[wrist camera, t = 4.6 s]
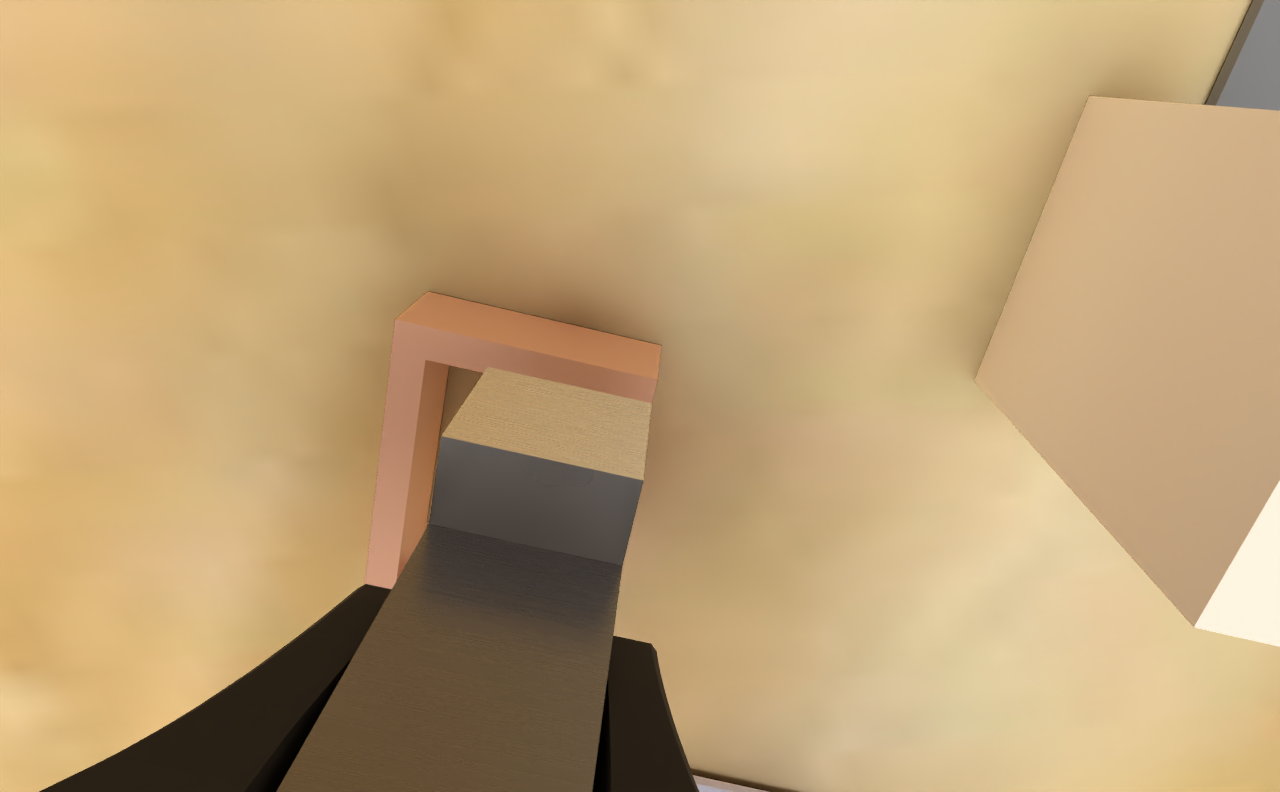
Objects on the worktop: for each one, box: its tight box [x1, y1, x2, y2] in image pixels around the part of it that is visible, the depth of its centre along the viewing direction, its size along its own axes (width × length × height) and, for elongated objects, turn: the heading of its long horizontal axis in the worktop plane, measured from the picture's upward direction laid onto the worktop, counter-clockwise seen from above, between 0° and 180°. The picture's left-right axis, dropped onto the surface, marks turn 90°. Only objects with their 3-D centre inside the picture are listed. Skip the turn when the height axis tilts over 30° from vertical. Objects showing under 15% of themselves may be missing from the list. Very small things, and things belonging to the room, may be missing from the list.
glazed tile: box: [974, 96, 1280, 647], centre depth 15 cm, size 7×2×10 cm, turn 168°
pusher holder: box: [365, 292, 662, 589], centre depth 22 cm, size 6×9×2 cm
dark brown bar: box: [277, 367, 652, 792], centre depth 11 cm, size 3×6×10 cm, turn 168°
